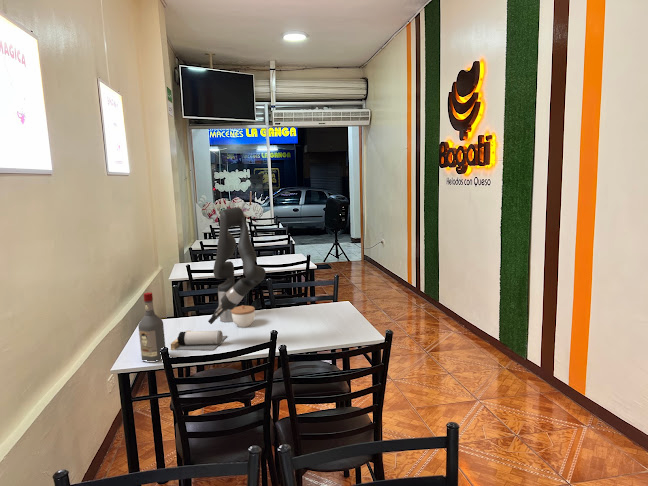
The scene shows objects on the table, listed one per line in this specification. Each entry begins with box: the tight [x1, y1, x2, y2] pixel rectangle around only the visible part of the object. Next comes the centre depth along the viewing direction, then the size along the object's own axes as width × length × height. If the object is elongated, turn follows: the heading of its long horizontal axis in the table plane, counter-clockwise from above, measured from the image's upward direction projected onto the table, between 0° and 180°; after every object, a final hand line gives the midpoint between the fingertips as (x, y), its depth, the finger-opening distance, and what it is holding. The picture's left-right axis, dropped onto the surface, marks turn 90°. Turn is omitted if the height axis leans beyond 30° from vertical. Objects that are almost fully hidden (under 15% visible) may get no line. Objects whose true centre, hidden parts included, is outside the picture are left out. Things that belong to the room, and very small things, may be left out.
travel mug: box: [176, 330, 224, 345], centre depth 212 cm, size 6×7×20 cm
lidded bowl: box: [231, 304, 256, 328], centre depth 239 cm, size 13×13×11 cm
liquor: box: [137, 292, 166, 361], centre depth 196 cm, size 9×9×30 cm
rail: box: [170, 330, 190, 351], centre depth 216 cm, size 18×2×3 cm, turn 172°
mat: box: [174, 335, 228, 352], centre depth 215 cm, size 18×19×1 cm
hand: (210, 322), depth 212 cm, fingers closed
